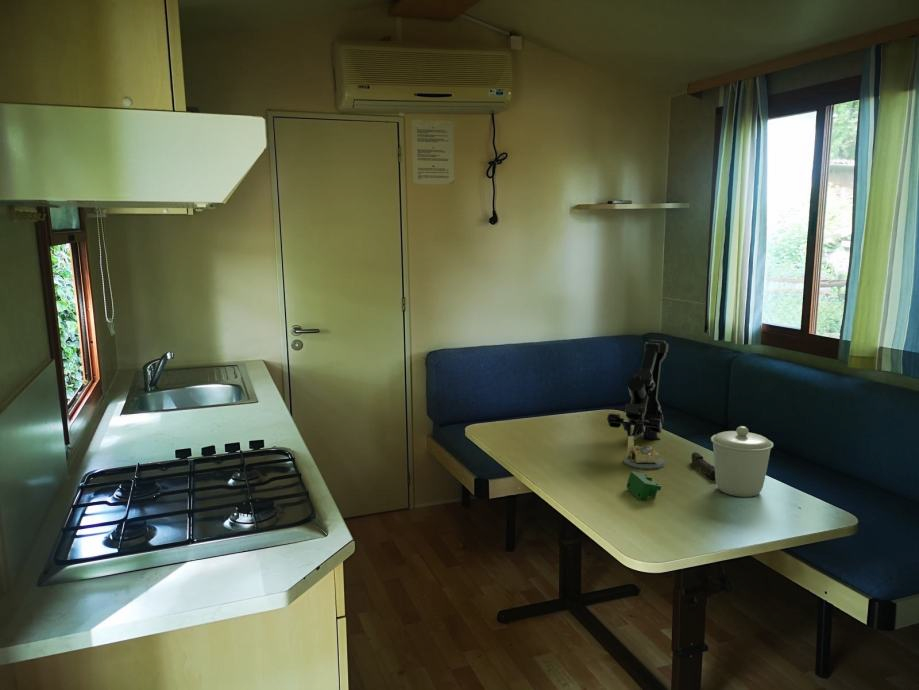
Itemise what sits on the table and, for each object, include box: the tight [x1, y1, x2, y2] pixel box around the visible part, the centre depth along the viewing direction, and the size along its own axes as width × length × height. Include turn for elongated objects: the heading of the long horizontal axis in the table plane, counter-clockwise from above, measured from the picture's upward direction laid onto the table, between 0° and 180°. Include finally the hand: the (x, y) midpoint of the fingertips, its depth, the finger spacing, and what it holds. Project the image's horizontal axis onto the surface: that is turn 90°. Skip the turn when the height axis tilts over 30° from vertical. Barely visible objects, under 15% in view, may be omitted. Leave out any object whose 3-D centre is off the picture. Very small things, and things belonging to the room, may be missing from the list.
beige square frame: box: [626, 435, 660, 463], centre depth 247 cm, size 8×10×8 cm
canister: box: [710, 425, 774, 498], centre depth 219 cm, size 18×18×21 cm
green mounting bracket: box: [626, 471, 662, 501], centre depth 218 cm, size 12×6×9 cm, turn 3°
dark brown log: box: [691, 451, 716, 482], centre depth 239 cm, size 19×4×5 cm, turn 3°
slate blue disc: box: [623, 446, 666, 470], centre depth 247 cm, size 14×14×6 cm
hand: (629, 443), depth 248 cm, fingers closed
